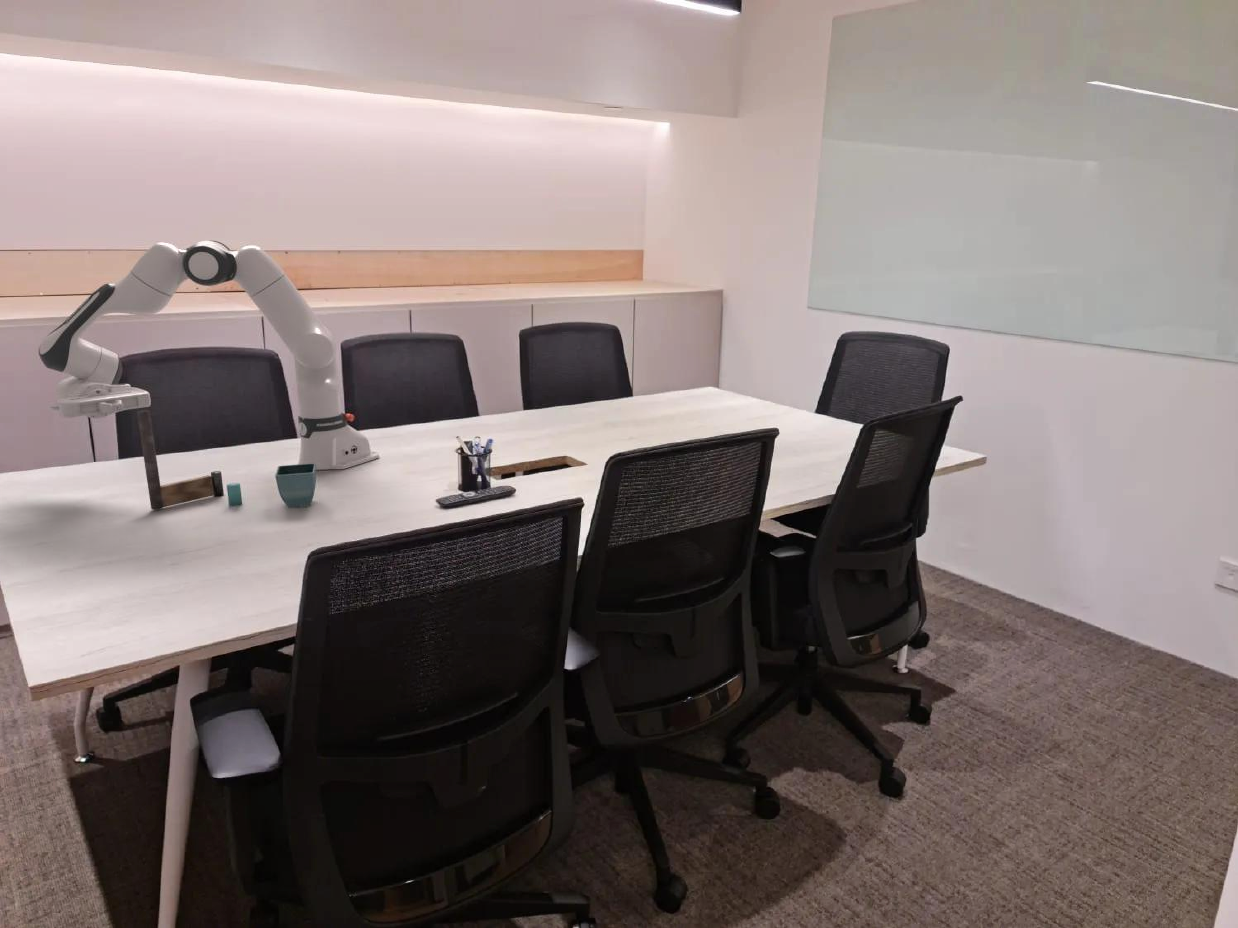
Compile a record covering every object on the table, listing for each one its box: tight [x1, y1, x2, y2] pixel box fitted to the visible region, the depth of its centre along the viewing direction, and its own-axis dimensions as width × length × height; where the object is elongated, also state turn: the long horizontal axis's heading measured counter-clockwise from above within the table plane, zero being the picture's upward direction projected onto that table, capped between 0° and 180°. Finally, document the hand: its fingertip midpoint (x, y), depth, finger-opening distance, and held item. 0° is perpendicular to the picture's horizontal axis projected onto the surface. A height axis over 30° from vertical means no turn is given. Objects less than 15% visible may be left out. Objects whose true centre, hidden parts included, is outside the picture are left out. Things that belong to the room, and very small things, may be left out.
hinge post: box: [210, 470, 225, 498], centre depth 222 cm, size 2×2×6 cm
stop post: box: [226, 482, 243, 507], centre depth 215 cm, size 3×3×5 cm
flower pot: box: [274, 463, 317, 508], centre depth 215 cm, size 9×9×9 cm
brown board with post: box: [136, 409, 214, 511], centre depth 213 cm, size 15×3×24 cm, turn 140°
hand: (117, 407), depth 214 cm, fingers closed
